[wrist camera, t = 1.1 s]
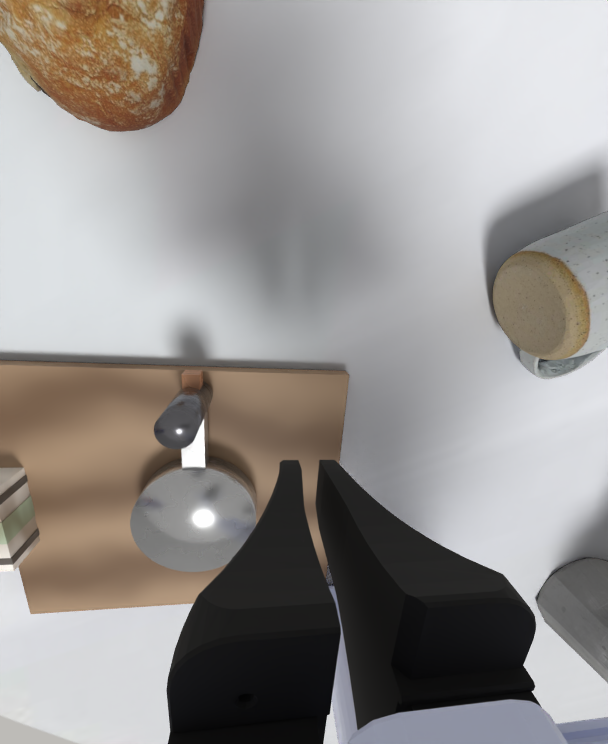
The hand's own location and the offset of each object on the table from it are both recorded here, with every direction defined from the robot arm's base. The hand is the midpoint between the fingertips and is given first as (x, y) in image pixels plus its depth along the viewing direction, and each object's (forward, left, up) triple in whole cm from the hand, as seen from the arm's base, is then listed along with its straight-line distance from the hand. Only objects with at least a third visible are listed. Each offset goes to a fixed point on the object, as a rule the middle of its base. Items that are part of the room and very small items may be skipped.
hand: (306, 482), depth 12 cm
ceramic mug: (+7, -18, -11) cm, 22 cm away
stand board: (-8, +7, -10) cm, 15 cm away
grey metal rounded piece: (-5, +6, -9) cm, 12 cm away
